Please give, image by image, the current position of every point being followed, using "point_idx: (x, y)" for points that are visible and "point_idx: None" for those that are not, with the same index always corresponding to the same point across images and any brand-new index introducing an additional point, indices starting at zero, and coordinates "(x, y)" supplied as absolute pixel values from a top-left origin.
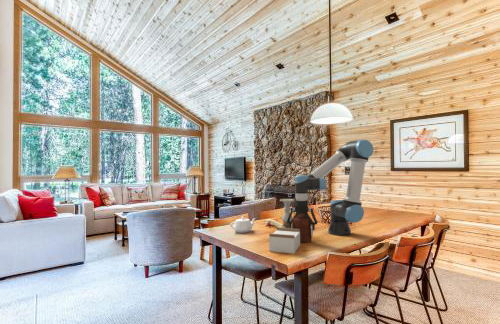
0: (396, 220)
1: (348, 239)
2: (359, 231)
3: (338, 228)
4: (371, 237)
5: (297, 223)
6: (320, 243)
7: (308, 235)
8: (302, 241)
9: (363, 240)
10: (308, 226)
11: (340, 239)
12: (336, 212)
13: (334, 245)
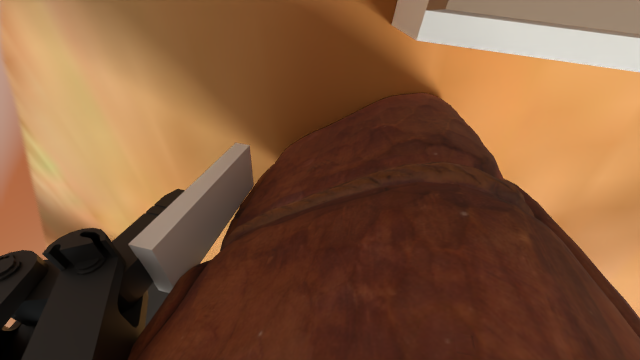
0: None
1: (102, 212)
2: None
3: (149, 301)
4: (49, 238)
5: (544, 324)
6: (203, 112)
7: (283, 167)
8: (357, 111)
9: (38, 198)
10: (227, 252)
11: (134, 211)
12: None
13: (86, 66)
